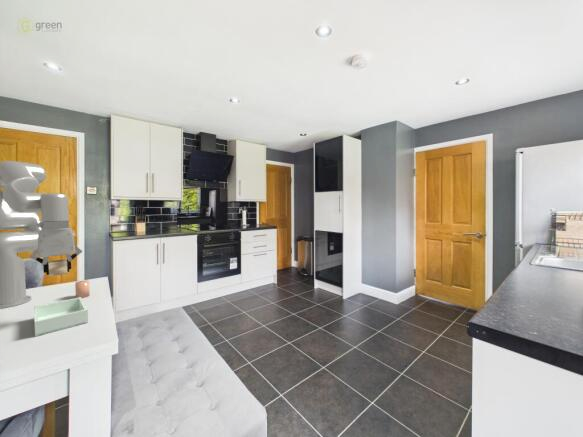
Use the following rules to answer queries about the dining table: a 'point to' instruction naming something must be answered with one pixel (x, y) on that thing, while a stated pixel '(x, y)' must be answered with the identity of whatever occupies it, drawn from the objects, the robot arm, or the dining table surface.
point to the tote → (59, 316)
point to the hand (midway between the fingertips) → (57, 272)
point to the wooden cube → (57, 267)
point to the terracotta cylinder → (82, 289)
